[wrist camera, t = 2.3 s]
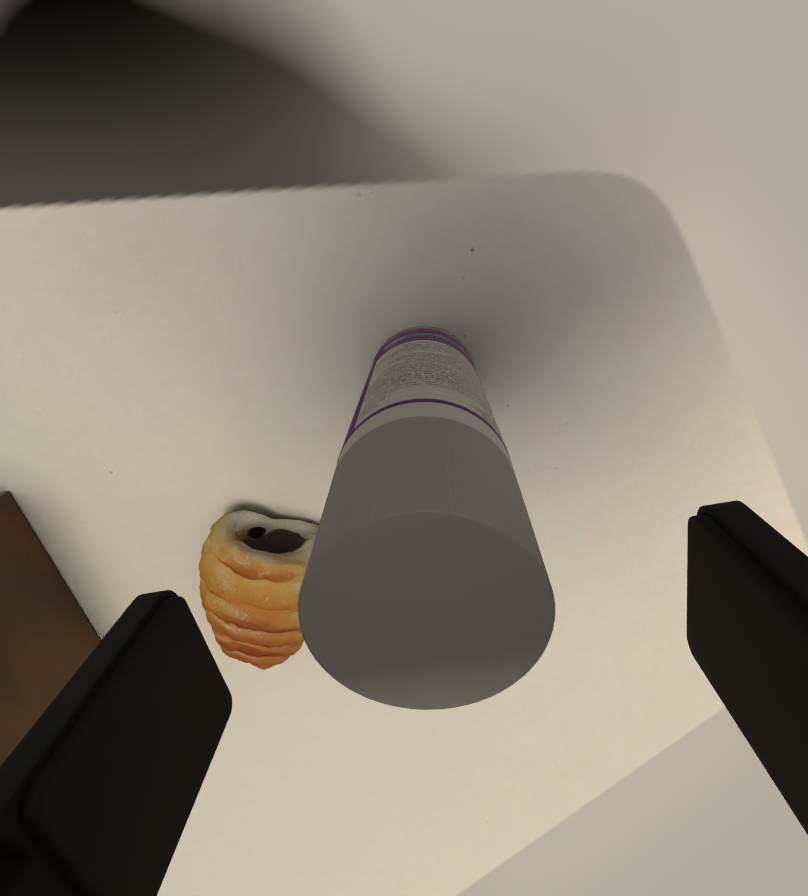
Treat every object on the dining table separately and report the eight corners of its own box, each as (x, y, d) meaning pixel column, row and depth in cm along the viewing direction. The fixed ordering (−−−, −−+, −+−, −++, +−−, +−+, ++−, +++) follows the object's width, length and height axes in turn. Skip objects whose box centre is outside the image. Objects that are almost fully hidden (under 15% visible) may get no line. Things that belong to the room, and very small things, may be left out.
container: (437, 444, 23) (459, 747, 10) (352, 393, 23) (245, 649, 9) (495, 362, 22) (622, 591, 8) (406, 304, 21) (377, 450, 7)
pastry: (317, 652, 29) (302, 710, 26) (204, 630, 29) (174, 685, 25) (344, 522, 25) (332, 569, 22) (215, 494, 25) (181, 537, 22)
